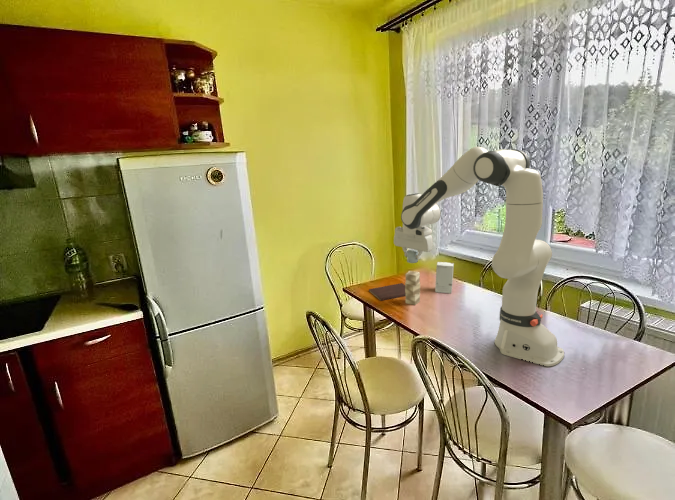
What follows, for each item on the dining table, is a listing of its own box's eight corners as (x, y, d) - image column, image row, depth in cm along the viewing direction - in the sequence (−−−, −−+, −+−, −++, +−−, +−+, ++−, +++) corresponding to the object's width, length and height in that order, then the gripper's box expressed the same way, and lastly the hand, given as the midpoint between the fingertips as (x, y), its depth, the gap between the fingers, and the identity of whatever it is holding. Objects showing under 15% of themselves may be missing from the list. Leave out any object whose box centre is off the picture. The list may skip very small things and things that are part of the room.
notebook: (368, 291, 196) (368, 288, 196) (401, 285, 202) (401, 282, 202) (380, 302, 182) (380, 298, 182) (416, 295, 188) (416, 291, 188)
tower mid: (420, 292, 177) (420, 283, 175) (413, 295, 174) (413, 285, 173) (412, 290, 181) (412, 280, 179) (405, 292, 178) (405, 283, 177)
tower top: (419, 282, 177) (419, 272, 175) (415, 285, 173) (415, 275, 171) (409, 280, 179) (409, 270, 178) (405, 283, 175) (405, 274, 174)
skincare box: (435, 292, 189) (435, 264, 185) (436, 288, 194) (436, 261, 190) (452, 293, 186) (453, 265, 182) (453, 289, 191) (453, 262, 187)
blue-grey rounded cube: (420, 261, 173) (420, 250, 172) (413, 263, 170) (413, 253, 168) (411, 259, 177) (411, 249, 175) (404, 261, 174) (404, 251, 172)
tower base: (419, 301, 179) (419, 292, 178) (414, 305, 175) (414, 295, 174) (410, 299, 182) (410, 290, 181) (405, 303, 178) (405, 293, 177)
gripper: (390, 227, 175) (391, 255, 178) (426, 233, 160) (426, 263, 163) (399, 224, 179) (399, 252, 182) (435, 230, 164) (434, 260, 167)
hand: (412, 257), depth 173 cm, fingers closed on blue-grey rounded cube, 5 cm apart
